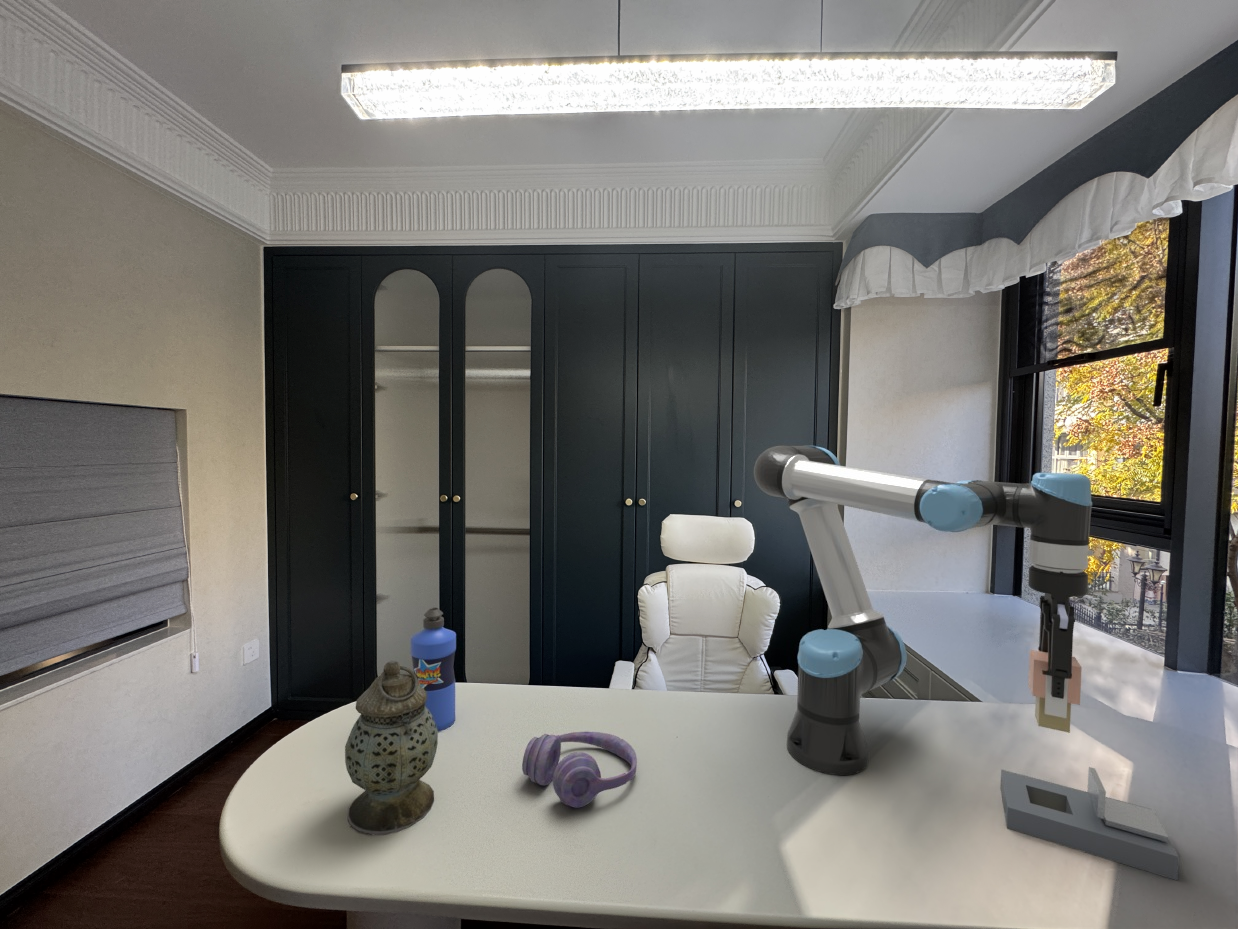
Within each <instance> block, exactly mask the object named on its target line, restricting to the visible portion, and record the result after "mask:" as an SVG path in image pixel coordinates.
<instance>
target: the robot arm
mask: <svg viewBox="0 0 1238 929" xmlns="http://www.w3.org/2000/svg"><path fill="white" fill-rule="evenodd" d="M753 477H754V478H753V479H754V480H755V483H756V485H757V487H758V488H759V489H760V490H761V491H763V493H765V494H767V495H768V496H772V497H777V498H778V497H779V498H784V499H786V501H787V504H788V506H789V509H790V510H791V511H794V512H796V513H797V514H798V515H799V519H800V522H801V525H802V528H803V531H804V534H805V539H806V540H807V544H808V547H809V550H810V552H811V555H812V559H813V563H814V565H815V568H816V571H817V572H816V573H817V576H818V578H819V579H820V580H819V581H820V584H821V587H822V590H823V593H824V596H825V600H826V601H827V605H828V608H829V611H830V614H831V620H830V622H829V624H828V626H827V629H825V630H824V629H822V628H821V629H820V628H819V629H815V630H812V631H809V632H807V633H806V634H805V635H803V636H802V638H801V639H800V642H799V646H798V653H797V664H798V668H797V702H796V703H797V704H796V711H795V714H794V716H793V718H792V721H791V724H790V726H789V729H788V731H787V737H786V738H787V739H786V740H787V741H786V748H787V750H788V752H789V754H790V755H791V756H792V757H793V759H794V760H796V761H798V762H799V763H800V764H802V765H804V766H805V767H807V768H810V769H812V770H814V771H817V772H821V773H823V774H824V773H825V774H830V775H839V776H840V775H841V776H848V775H854V774H857V773H861V772H862V771H864V770H865V769H866V767H867V766H868V762H869V750H868V749H869V748H868V745H867V742H866V739H865V738H866V737H865V735H864V732H863V728H862V724H861V721H860V712H861V710H860V709H861V696H862V695H863V694H865V693H867V692H870V691H871V690H874V689H876V688H878V687H881V686H885V685H887V684H889V683H891V682H892V681H893V680H895V679H896V678H897V677H899V676H900V675H901V674H902V673H903V671H904V669H905V667H906V663H907V657H908V656H907V649H906V646H905V643H904V641H903V639H902V637H901V636H900V635H899V633H898V632H897V631H895V630H893V628H892V627H891V626H889V625H887V622H886V620H885V616H884V615H883V614H882V613H880V612H878V611H877V610H875V609H874V608H873V606H872V602H871V600H870V597H869V594H868V591H867V589H866V586H865V583H864V580H863V576H862V574H861V570H860V568H859V565H858V562H857V560H856V557H855V553H854V550H853V547H852V545H851V542H850V539H849V536H848V533H847V531H846V527H845V525H844V521H843V519H842V515H841V513H840V510H839V508H838V505H841V506H845V507H849V508H853V509H859V510H864V511H868V512H873V513H878V514H883V515H887V516H892V517H897V518H902V519H907V520H910V521H915V522H920V523H923V524H927V525H928V526H930V528H933V529H935V530H937V531H938V532H939V531H940V532H950V533H960V532H964V531H968V530H970V529H975V528H980V527H986V526H992V525H996V526H1004V527H1005V526H1006V527H1015V528H1016V527H1017V528H1024V529H1026V528H1028V529H1030V534H1029V535H1030V537H1029V546H1028V547H1029V550H1028V562H1030V564H1032V565H1030V566H1029V567H1028V587H1029V588H1030V589H1031V590H1033V591H1036V592H1038V593H1042V594H1044V595H1040V597H1039V610H1040V613H1039V614H1040V615H1039V616H1040V617H1039V638H1038V639H1039V641H1038V646H1037V649H1038V650H1037V651H1041V652H1047V653H1048V670H1047V671H1044V670H1042V674H1043V675H1046V683H1045V707H1044V713H1045V714H1048V715H1052V716H1057V717H1062V718H1067V695H1068V679H1071V678H1072V673H1071V672H1072V657H1073V648H1074V647H1073V642H1074V628H1075V622H1076V619H1075V607H1074V606H1071V605H1072V604H1071V603H1070V598H1073V597H1075V598H1081V597H1084V596H1086V595H1087V594H1088V586H1089V584H1088V583H1089V574H1088V573H1087V572H1086V570H1087V569H1088V568H1089V558H1088V557H1092V556H1093V555H1094V551H1093V550H1092V549H1090V546H1089V545H1090V532H1091V530H1090V529H1091V517H1092V515H1091V514H1092V506H1093V502H1092V487H1091V486H1092V485H1091V483H1092V482H1091V479H1090V478H1089V477H1088V476H1087V475H1085V474H1080V473H1067V472H1066V473H1065V472H1036V473H1034V474H1033V475H1032V480H1031V481H1030V482H1029V483H1027V482H1026V483H1015V482H1002V481H1001V482H999V481H989V480H988V481H986V480H980V479H976V480H973V479H972V480H959V481H957V482H947V481H941V480H936V479H935V480H934V479H927V478H921V477H914V476H908V475H902V474H897V473H896V474H895V473H890V472H889V473H888V472H883V471H877V470H870V469H863V468H856V467H852V466H845V465H841V463H840V462H839V459H838V458H837V457H836V455H835V454H833V453H832V451H830V450H828V449H827V448H824V447H822V446H821V447H820V446H816V445H777V446H771V447H769V448H767V449H766V450H764V451H763V452H762V453H761V454H760V455H759V456H758V457H757V458H756V461H755V463H754V467H753Z"/></svg>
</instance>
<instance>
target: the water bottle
mask: <svg viewBox="0 0 1238 929" xmlns="http://www.w3.org/2000/svg"><path fill="white" fill-rule="evenodd" d="M423 615H424V616H423V617H424V618H423V620H422V621H423V622H422V624H423V626H422V627H423V629H422V630H420V631H418V632H416V633H414V634H412V635H411V637H410V655H411V660H412V661H411V662H412V669H413V670H412V671H413V673H414V674H415V675H416V677H417V680H418V684H419V685H420V686H421V687H422V688H423V689H424V690H425V691H426V692H427V700H426V702H425V706H426V707H427V709H428V710H429V711H430V713H431V715H432V716H433V719H434V721H435V724H436V727H437V730H438V733H439V732H442V731H444V730H446V729H447V730H448V729H449V728H450V727H451V726H454V724H455V722H456V678H455V677H456V676H455V670H454V661H455V656H456V654H455V653H456V650H457V633H456V632H455V631H454V630H451V629H448V628H445V627H444V625H445V622H444V621H445V619H444V617H443V616H442V615H444V612H443V611H442V610H440V608H438V607H430V608H428V610H427V611H426V612H425V613H424V614H423Z"/></svg>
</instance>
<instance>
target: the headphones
mask: <svg viewBox="0 0 1238 929" xmlns="http://www.w3.org/2000/svg"><path fill="white" fill-rule="evenodd" d="M562 743H582V744H587V745H591V746H595V747H599V748H601V749H603V750H606V751H608V752H611V753H612V754H614V755H617V756H619V757H620V758H621V759H623V760H625V761H626V762H627V763H629V765H630V766H631V767H630V769H629V770H628V772H626V773H625V772H622V773H621V774H618V775H616V776H611V777H606V778H604V777H602V774H601V771H600V768H599V765H598V763H597V761H596V760H595V758H594V757H593V756H592V755H590V754H588V753H586V752H583V751H576V752H572V753H569V754H568V755H566V756H564V757H563V758H562V759H561V760H560V758H561V750H562ZM523 754H524V755H523V757H522V765H521V766H522V767H521V769H522V773H523V775H524V776H527V777H529V779H530V781H531V782H532V783H535V784H538V785H539V786H547V785H550V784H551V782H552V787H553V791H554V793H555V795H556V796H557V797H558V799H559V800H560V801H561V803H562V804H565V805H566V806H568V807H572V808H583V807H585V806H587V805H588V804H590V803H591V802H592V801H594V799H595V797H596V796H597V795H599V793H602V792H604V791H608V790H613V789H617V788H619V787H621V786H624V785H626V784H627V783H628V782H630V781H631V780H632V779H633V778H634V777H635V776H636V772H637V767H638V766H637V764H638V758H637V753H636V750H635V749H634V748H633V746H632V745H631V744H630V743H628V742H627V741H626V740H625V739H623V738H621V737H620V736H617V735H615V734H611V733H605V732H599V731H575V732H573V731H572V732H569V733H564V734H560V735H559V734H556V735H555V734H549V733H548V734H546V733H544V734H542V735H541V736H540V737H537V736H533V737H532V738H531V739H530V740H529V742H528V743H527V746H526V747H525V751H524V753H523Z"/></svg>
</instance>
